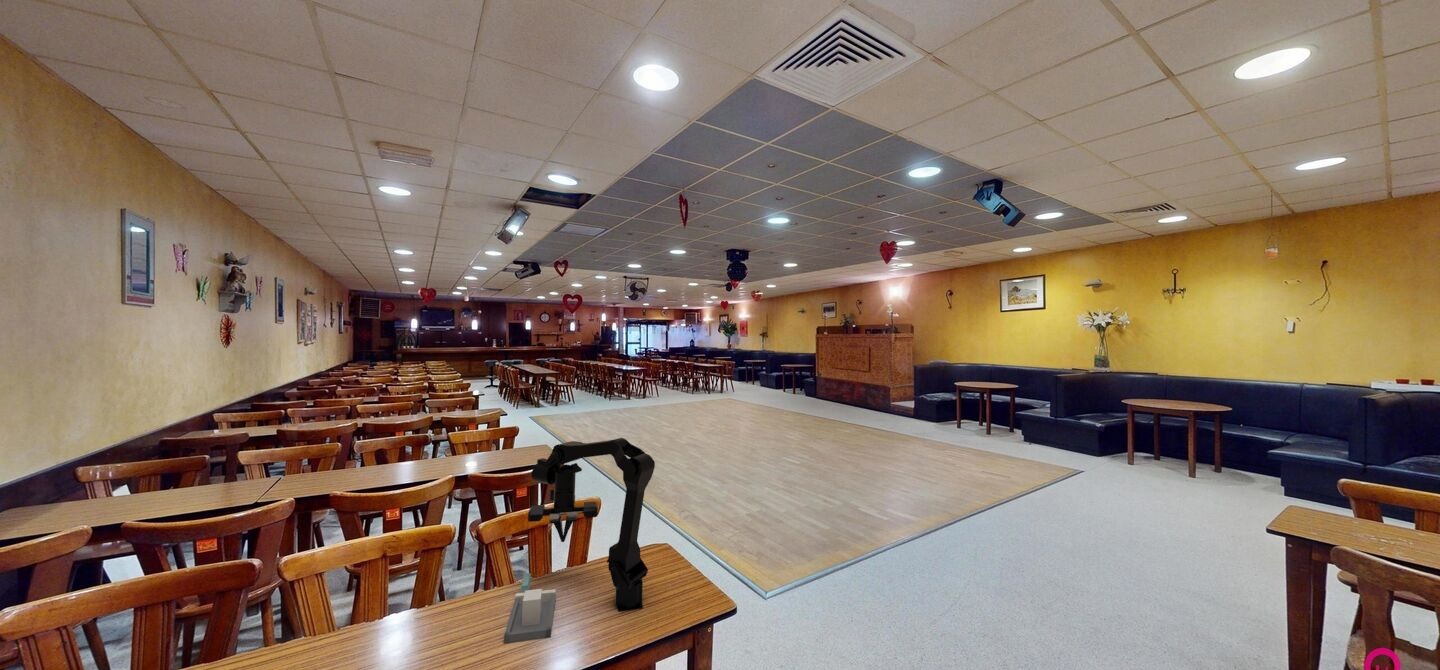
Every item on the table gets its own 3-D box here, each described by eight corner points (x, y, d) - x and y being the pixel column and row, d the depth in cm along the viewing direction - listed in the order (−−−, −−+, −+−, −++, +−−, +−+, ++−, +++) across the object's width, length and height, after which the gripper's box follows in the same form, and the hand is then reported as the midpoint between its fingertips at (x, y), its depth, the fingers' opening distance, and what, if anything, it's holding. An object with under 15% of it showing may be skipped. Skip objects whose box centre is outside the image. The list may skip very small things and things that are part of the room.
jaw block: (541, 612, 118) (542, 588, 118) (539, 624, 113) (540, 599, 113) (524, 614, 117) (525, 590, 117) (521, 626, 112) (522, 601, 112)
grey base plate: (555, 601, 124) (555, 594, 124) (550, 638, 109) (550, 629, 109) (514, 606, 121) (515, 598, 122) (503, 644, 106) (504, 635, 106)
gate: (557, 584, 133) (558, 570, 133) (555, 600, 124) (555, 585, 125) (519, 588, 130) (520, 574, 130) (514, 605, 122) (515, 589, 122)
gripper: (597, 477, 145) (596, 528, 144) (533, 480, 140) (531, 533, 139) (598, 487, 134) (596, 543, 133) (528, 491, 129) (526, 548, 128)
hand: (562, 541), depth 134 cm, fingers closed
